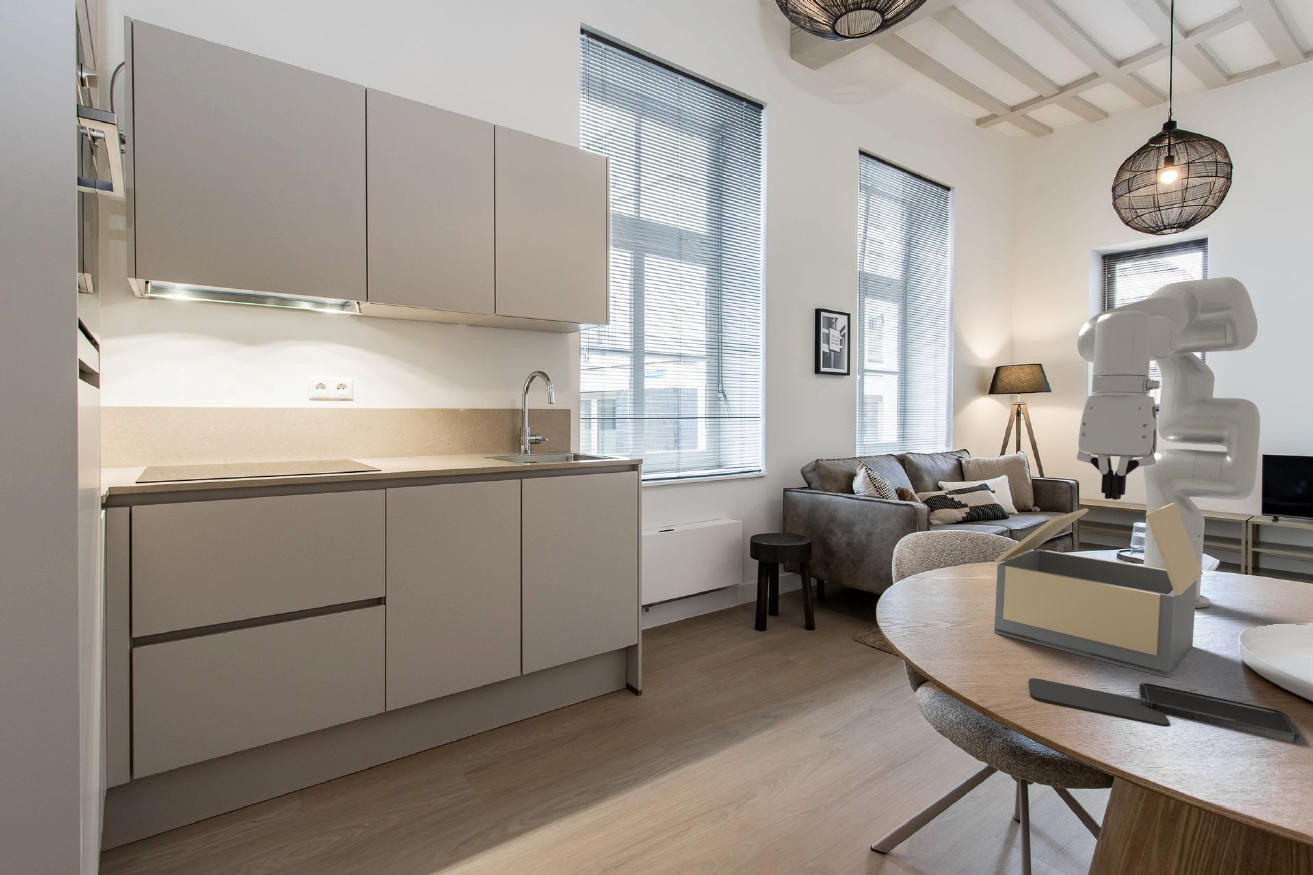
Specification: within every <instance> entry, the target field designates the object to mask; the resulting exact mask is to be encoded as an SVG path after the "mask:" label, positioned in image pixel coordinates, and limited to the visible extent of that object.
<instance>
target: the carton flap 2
mask: <svg viewBox="0 0 1313 875" xmlns="http://www.w3.org/2000/svg"><path fill="white" fill-rule="evenodd" d="M1144 515H1145V519H1146V518H1147V520H1148V523H1149V526H1150V528H1151V531H1152V534H1153V536H1154V539H1155V542H1156V544H1157V547H1158V550H1159V552H1160V555H1161V558H1162V560H1163V563H1164V566H1165V568H1166V571H1167V574H1168V576H1169V579H1170V582H1171V584H1172V587H1173V590H1174V592H1175V595H1181V594H1182V593H1183V592H1184V591H1185V590H1186V589H1187V588H1189V587H1190V586H1191V585H1192V584H1193V583H1194V582H1195V581H1196V580H1197V579H1198V578H1199V577H1200V576H1201V577H1202V575H1203V574H1204V573H1203V571H1202V570H1203V569H1202V570H1201V568H1200V565H1199V562H1198V560H1197V557H1196V555H1195V552H1194V549H1193V547H1192V544H1191V542H1190V539H1189V537H1188V534H1187V531H1186V529H1185V526H1184V524H1183V521H1182V518H1181V516H1180V513H1179V511H1178V508H1177V505H1176V503H1172V504H1169V505H1167V506H1164V507H1162V508H1160V509H1157V510H1155V511H1152V512H1150V513H1148V514H1144Z"/></svg>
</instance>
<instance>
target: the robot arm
mask: <svg viewBox="0 0 1313 875" xmlns="http://www.w3.org/2000/svg"><path fill="white" fill-rule="evenodd" d="M1257 333H1258V319H1257V315H1256V312H1255V308H1254V306H1253V303H1252V299H1251V296H1250V293H1249V292H1248V290H1247V287H1245V285H1244V284H1243V283H1242V282H1241V281H1240V280H1238V279H1236V277H1235V278H1234V277H1231V276H1223V277H1214V278H1213V277H1212V278H1204V279H1194V280H1185V281H1179V282H1178V281H1177V282H1171V283H1169V284H1166V285H1163V286H1161V287H1159V288H1158V289H1157V290H1155V291H1153V293H1152V294H1150V295H1149V296H1148V297H1147V298H1145V299H1142V300H1138V301H1133V302H1131V303H1127V304H1124V305H1122V306H1118V307H1115V308H1111V309H1108V310H1107V309H1106V310H1105V311H1104V310H1103V311H1102V312H1098V313H1097V314H1095V315H1093V316H1092V317H1090V318H1089V319H1087V321H1086V322H1085V323H1083V325H1082V327H1081V328H1080V331H1079V332H1078V334H1077V341H1076V344H1077V346H1076V347H1077V351H1078V353H1079V355H1080V356H1081V358H1082V359H1083V360H1085V361H1087V362H1090V363H1093V365H1092V366H1093V368H1092V382H1091V383H1092V384H1091V385H1092V386H1091V395H1087V397H1086V399H1085V403H1084V406H1083V411H1082V414H1081V420H1080V426H1079V430H1078V431H1079V433H1078V440H1077V441H1078V443H1077V445H1078V452H1077V455H1076V459H1077V460H1078V461H1081V462H1084V463H1087V464H1091V465H1092V466H1094V467H1095V468H1096V469H1097V471H1099V473H1100V474H1101V475H1102V476H1101V488H1100V490H1101V491H1100V492H1101V494H1104V499H1107V500H1110V499H1112V500H1115V501H1117V500H1120V499H1121V498H1122V496H1124V495H1126V484H1127V482H1126V481H1127V476H1128V475H1129V474H1130V473H1131V472H1133V471H1134V470H1136V469H1137V468H1140V467H1143V478H1144V484H1145V493H1146V494H1145V495H1146V514H1148V513H1150V512H1152V511H1155V510H1157V509H1160V508H1162V507H1164V506H1167V505H1169V504H1172V503H1176V505H1177V508H1178V511H1179V513H1180V516H1181V518H1182V521H1183V524H1184V526H1185V529H1186V531H1187V534H1188V537H1189V539H1190V542H1191V544H1192V547H1193V549H1194V552H1195V555H1196V557H1197V560H1198V562H1199V565H1200V568H1201V570H1203V569H1202V568H1203V556H1204V555H1203V553H1204V539H1205V538H1204V537H1205V536H1204V535H1205V525H1206V522H1205V517H1204V515H1203V513H1202V511H1201V509H1199V507H1198V506H1197V505H1196V504H1195V502H1194V501H1193V500H1192V499H1191V497H1192V498H1206V499H1207V498H1208V499H1216V500H1217V499H1218V500H1232V501H1239V500H1240V501H1241V500H1246V499H1247V498H1248V497H1250V496H1251V495H1252V494H1253V491H1254V489H1255V484H1256V478H1257V466H1258V456H1259V447H1260V446H1259V445H1260V435H1261V434H1260V433H1261V416H1260V415H1261V414H1260V411H1259V408H1258V407H1257V405H1256V404H1255V402H1253V401H1251V400H1249V399H1244V398H1236V397H1235V398H1234V397H1228V398H1227V397H1224V398H1223V397H1214V390H1215V389H1214V386H1215V374H1214V372H1213V370H1212V369H1211V368H1210V367H1209V365H1208V364H1206V362H1204V361H1203V360H1202V359H1201V358H1200V357H1199V356H1197V355H1196V354H1195V353H1214V352H1217V353H1218V352H1235V351H1237V352H1238V351H1242V350H1245V349H1247V348H1249V347H1250V346H1252V344H1253V343H1254V342H1255V341H1256V338H1257V335H1258V334H1257ZM1154 361H1156V364H1157V365H1158V368H1159V371H1160V374H1161V381H1160V380H1154V379H1151V378H1150V364H1151V362H1154ZM1160 383H1161V384H1160ZM1160 386H1161V390H1160V399H1159V407H1158V416H1157V408H1156V402H1155V397H1154V396H1149V395H1148V394H1150V392H1151V391H1152V390H1159V389H1160ZM1158 434H1159V436H1160V438H1162V440H1164V441H1167V442H1170V443H1177V444H1189V445H1191V444H1192V445H1207V446H1208V445H1213V446H1215V445H1216V446H1223V447H1224V448H1226V449H1227V450H1226V451H1224V450H1223V451H1222V450H1220V451H1219V450H1217V451H1216V450H1205V449H1204V450H1201V449H1186V448H1164V449H1163V448H1162V449H1157V447H1158V446H1157V444H1158V443H1157V441H1158V440H1157V439H1158ZM1112 457H1119V461H1118V464H1117V469H1116V471H1115V472H1114V470H1113V466H1112V465H1113V464H1112ZM1134 458H1136V459H1134ZM1137 458H1138V459H1137ZM1142 566H1148V567H1154V568H1160V569H1166V568H1165V566H1164V563H1163V560H1162V558H1161V555H1160V552H1159V550H1158V547H1157V544H1156V542H1155V539H1154V536H1153V534H1152V531H1151V528H1150V526H1149V523H1148V520H1147V518H1146V517H1145V535H1144V550H1143V565H1142ZM1201 584H1202V575H1201V576H1200V577H1199V578H1198V579H1197V583H1196V599H1195V609H1197V608H1198V609H1201V608H1202V609H1203V608H1207V607H1209V606H1210V603H1211V601H1210V599H1209V598H1208V597H1206V596H1204V595H1202V594H1201Z"/></svg>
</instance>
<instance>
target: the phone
mask: <svg viewBox="0 0 1313 875" xmlns="http://www.w3.org/2000/svg"><path fill="white" fill-rule="evenodd" d="M1028 692H1029V697H1030V698H1031V699H1032V700H1035V701H1038V702H1042V703H1046V704H1047V703H1048V704H1052V705H1056V706H1062V707H1066V708H1071V709H1076V710H1081V711H1086V712H1092V713H1096V714H1100V715H1105V716H1106V715H1107V716H1111V717H1116V718H1121V719H1126V720H1131V721H1135V722H1141V723H1146V724H1151V725H1155V726H1162V727H1169V726H1170V721H1169V719H1168V718H1167V714H1165V713H1164V712H1163V711H1159V710H1155V709H1151V708H1148V707H1146V706H1144V705H1142V704H1141V699H1140V698H1136V697H1131V696H1127V695H1121V694H1118V693H1112V692H1105V691H1103V690H1097V689H1091V688H1086V687H1081V686H1076V685H1072V684H1067V683H1062V682H1061V683H1060V682H1056V681H1051V680H1046V679H1042V678H1035V677H1031V678H1029V679H1028Z"/></svg>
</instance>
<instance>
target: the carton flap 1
mask: <svg viewBox="0 0 1313 875" xmlns="http://www.w3.org/2000/svg"><path fill="white" fill-rule="evenodd" d="M1089 511H1090V510H1089V509H1088V508H1087V507H1086V508H1081V509H1079V510H1075V511H1072V512H1069V513H1065V514H1063V515H1060V516H1056V517H1054V518H1050V519H1049V520H1048V521H1047V522H1045V523H1043V525H1041V526H1039V527H1038V528H1037V529H1035V530H1034V531H1033V532H1031V533H1029V535H1027V536H1025V538H1022V539H1021V540H1020V541H1019V542H1017V543H1016V544H1014V545H1013V546H1012V547H1011V548H1009V549H1008V550H1006V551H1005V552H1003V553H1002V554H1000V555H999V556H998V557H996V559H994V562H995V563H996V564H999V563H1000V562H1001V563H1002V562H1004V561H1005V560H1006V561H1007V560H1010V559H1012V558H1013V557H1014V558H1015V557H1017V556H1020V555H1021V554H1022V555H1023V554H1025V553H1028V552H1031V551H1033V550H1036V549H1037V548H1038V547H1039V546H1041V545H1042V544H1044V543H1045V542H1046V541H1048V540H1049V539H1050V538H1052V537H1054V536H1055V535H1056V534H1057V533H1059V532H1061V531H1062V530H1063V529H1065V528H1066V527H1068V526H1069V525H1070V524H1072V523H1074V522H1075V521H1076V520H1078V519H1079V518H1080V517H1082V516H1083V515H1085V514H1086V513H1088V512H1089Z"/></svg>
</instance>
